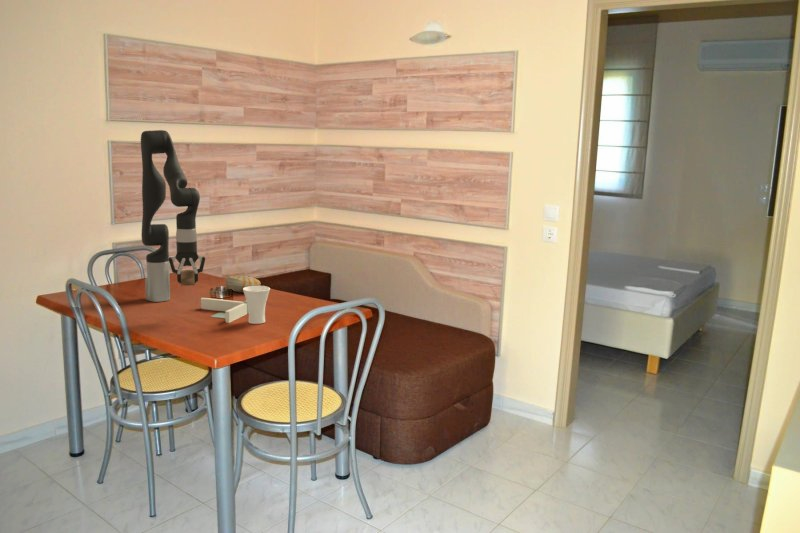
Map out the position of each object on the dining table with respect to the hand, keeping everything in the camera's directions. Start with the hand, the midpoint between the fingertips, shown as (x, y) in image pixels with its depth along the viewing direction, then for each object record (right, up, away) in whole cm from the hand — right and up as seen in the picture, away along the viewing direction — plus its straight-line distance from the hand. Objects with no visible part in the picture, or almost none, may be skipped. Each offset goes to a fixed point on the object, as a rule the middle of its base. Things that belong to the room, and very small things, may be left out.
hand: (187, 282), depth 258 cm
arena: (+8, -14, +10) cm, 18 cm away
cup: (+26, -16, +2) cm, 31 cm away
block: (0, -1, 0) cm, 0 cm away
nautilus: (+7, -5, +54) cm, 55 cm away
